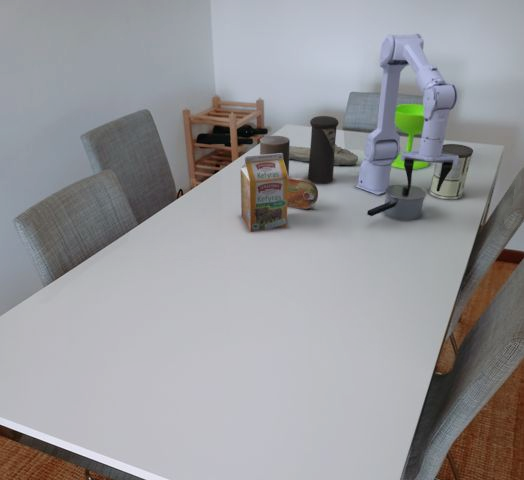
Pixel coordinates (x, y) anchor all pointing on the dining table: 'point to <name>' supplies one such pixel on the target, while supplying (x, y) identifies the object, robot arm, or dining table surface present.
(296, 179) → the tin
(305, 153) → the elongated rock
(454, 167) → the coffee can
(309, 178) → the container
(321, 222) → the dining table surface
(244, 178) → the milk carton
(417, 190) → the saucepan
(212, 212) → the dining table surface
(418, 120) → the wineglass
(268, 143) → the pillar candle
